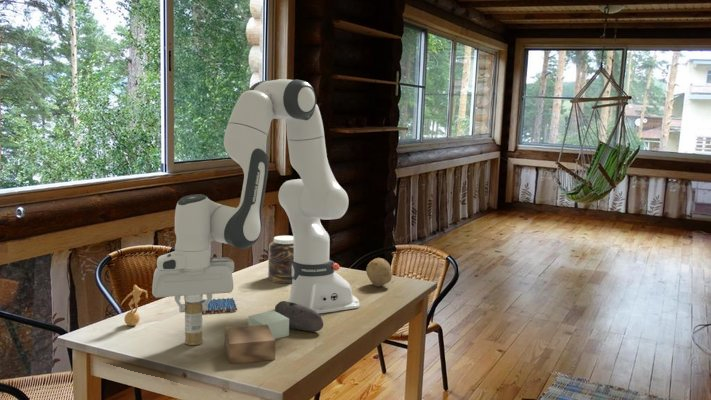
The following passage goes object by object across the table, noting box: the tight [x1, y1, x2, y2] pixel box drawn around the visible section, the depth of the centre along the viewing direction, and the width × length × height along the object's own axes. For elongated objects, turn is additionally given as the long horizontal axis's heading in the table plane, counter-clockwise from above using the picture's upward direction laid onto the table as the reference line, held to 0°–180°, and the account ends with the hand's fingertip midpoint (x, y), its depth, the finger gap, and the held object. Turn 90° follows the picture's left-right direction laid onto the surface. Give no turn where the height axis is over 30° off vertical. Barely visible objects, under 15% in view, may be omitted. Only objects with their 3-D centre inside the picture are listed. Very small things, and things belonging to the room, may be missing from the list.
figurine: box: [120, 284, 149, 327], centre depth 174 cm, size 8×6×12 cm
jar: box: [267, 235, 294, 284], centre depth 225 cm, size 12×12×15 cm
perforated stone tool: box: [274, 300, 324, 332], centre depth 177 cm, size 15×5×7 cm, turn 61°
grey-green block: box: [247, 310, 290, 340], centre depth 172 cm, size 8×8×5 cm
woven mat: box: [202, 297, 238, 315], centre depth 193 cm, size 10×11×2 cm
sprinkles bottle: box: [183, 295, 204, 346], centre depth 164 cm, size 5×5×13 cm
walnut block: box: [224, 325, 276, 365], centre depth 159 cm, size 11×11×5 cm
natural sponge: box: [365, 257, 393, 288], centre depth 220 cm, size 9×9×10 cm
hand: (193, 310), depth 163 cm, fingers closed on sprinkles bottle, 4 cm apart
